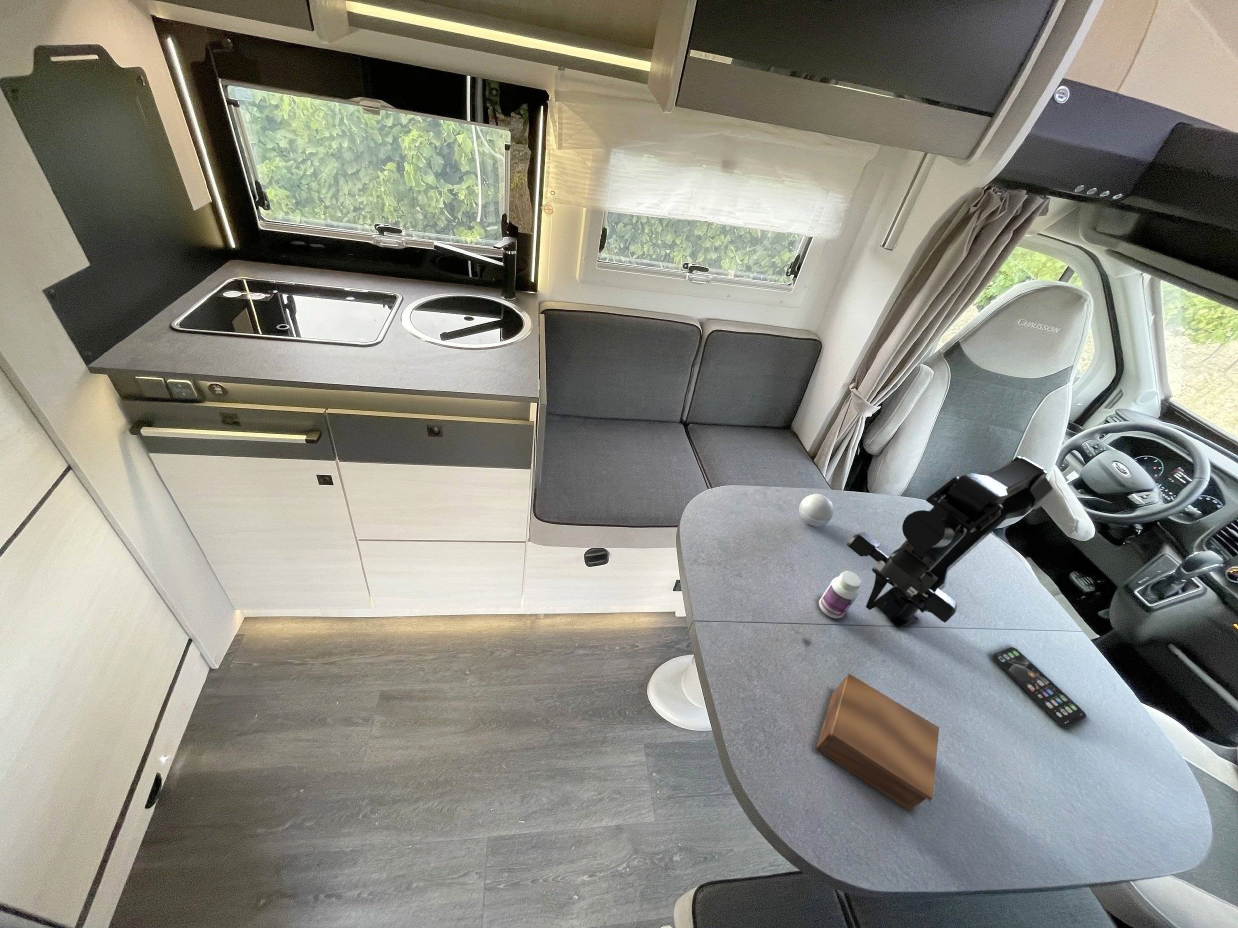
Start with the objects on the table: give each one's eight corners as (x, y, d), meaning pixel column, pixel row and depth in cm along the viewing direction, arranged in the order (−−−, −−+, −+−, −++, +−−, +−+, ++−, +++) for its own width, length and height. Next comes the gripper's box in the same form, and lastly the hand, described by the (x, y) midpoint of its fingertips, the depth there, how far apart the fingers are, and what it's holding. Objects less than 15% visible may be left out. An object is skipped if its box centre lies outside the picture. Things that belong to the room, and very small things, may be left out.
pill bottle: (844, 623, 101) (866, 593, 95) (818, 613, 102) (838, 583, 96) (843, 603, 105) (864, 573, 100) (818, 594, 106) (837, 564, 100)
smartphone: (1013, 645, 103) (1088, 715, 92) (1011, 647, 103) (1086, 717, 93) (991, 654, 100) (1066, 727, 89) (989, 656, 100) (1063, 729, 90)
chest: (909, 810, 75) (930, 795, 71) (815, 748, 80) (830, 731, 76) (917, 745, 83) (936, 729, 80) (832, 693, 88) (846, 675, 85)
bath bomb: (796, 506, 129) (808, 483, 124) (826, 518, 127) (840, 495, 123) (792, 525, 123) (804, 501, 118) (824, 537, 121) (838, 514, 116)
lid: (929, 800, 71) (932, 798, 70) (829, 736, 76) (831, 733, 75) (936, 729, 80) (939, 726, 79) (846, 675, 85) (848, 673, 84)
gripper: (869, 510, 82) (811, 578, 88) (981, 593, 73) (908, 663, 78) (883, 507, 91) (829, 568, 96) (984, 580, 81) (918, 643, 87)
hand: (867, 607), depth 89 cm, fingers closed
